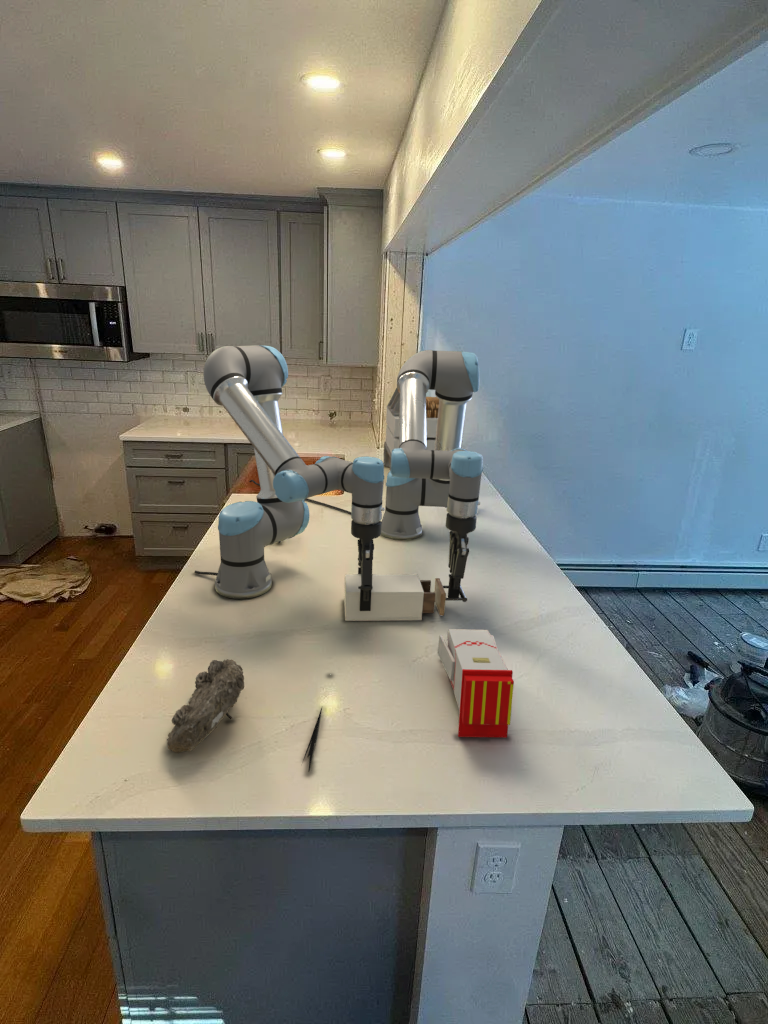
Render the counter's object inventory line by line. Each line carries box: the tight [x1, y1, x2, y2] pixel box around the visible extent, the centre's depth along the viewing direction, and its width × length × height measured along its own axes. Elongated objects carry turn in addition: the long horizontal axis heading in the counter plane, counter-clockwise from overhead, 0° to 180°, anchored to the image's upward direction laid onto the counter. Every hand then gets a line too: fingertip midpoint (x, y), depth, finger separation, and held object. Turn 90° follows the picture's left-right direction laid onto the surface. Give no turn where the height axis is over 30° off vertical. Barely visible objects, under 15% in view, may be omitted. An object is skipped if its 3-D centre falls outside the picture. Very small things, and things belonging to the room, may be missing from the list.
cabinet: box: [343, 573, 424, 622], centre depth 148 cm, size 20×10×8 cm, turn 95°
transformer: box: [383, 387, 465, 472], centre depth 268 cm, size 34×33×41 cm
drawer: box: [420, 577, 468, 617], centre depth 148 cm, size 24×9×6 cm, turn 95°
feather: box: [301, 673, 332, 771], centre depth 108 cm, size 2×28×2 cm
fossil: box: [166, 658, 245, 754], centre depth 106 cm, size 22×10×15 cm
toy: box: [437, 628, 515, 738], centre depth 117 cm, size 12×13×30 cm
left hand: (363, 599), depth 147 cm, fingers closed on cabinet, 10 cm apart
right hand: (453, 597), depth 150 cm, fingers closed
